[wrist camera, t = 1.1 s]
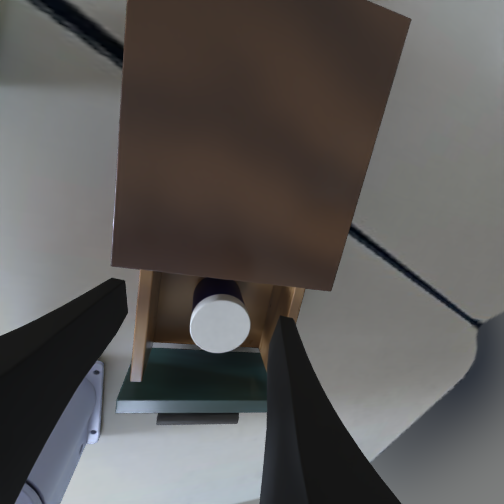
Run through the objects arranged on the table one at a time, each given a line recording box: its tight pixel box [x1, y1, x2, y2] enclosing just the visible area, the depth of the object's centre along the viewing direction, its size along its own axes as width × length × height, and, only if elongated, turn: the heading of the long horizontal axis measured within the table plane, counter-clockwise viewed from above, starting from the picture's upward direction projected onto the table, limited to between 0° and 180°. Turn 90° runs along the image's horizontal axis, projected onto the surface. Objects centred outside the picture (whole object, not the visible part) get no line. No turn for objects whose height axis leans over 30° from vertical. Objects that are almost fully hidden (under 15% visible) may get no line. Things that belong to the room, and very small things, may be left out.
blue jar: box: [190, 277, 250, 353], centre depth 19 cm, size 4×4×5 cm
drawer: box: [116, 270, 305, 425], centre depth 21 cm, size 19×12×6 cm, turn 169°
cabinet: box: [111, 0, 411, 291], centre depth 17 cm, size 16×14×8 cm
